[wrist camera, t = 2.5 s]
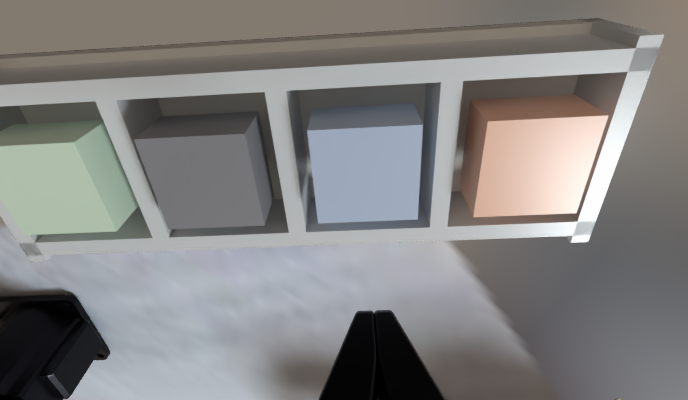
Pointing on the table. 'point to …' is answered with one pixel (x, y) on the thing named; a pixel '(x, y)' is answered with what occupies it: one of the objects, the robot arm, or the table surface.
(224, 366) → the table surface
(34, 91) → the keypad
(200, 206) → the key charcoal
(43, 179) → the key sage
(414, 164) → the key blue
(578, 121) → the key terracotta
